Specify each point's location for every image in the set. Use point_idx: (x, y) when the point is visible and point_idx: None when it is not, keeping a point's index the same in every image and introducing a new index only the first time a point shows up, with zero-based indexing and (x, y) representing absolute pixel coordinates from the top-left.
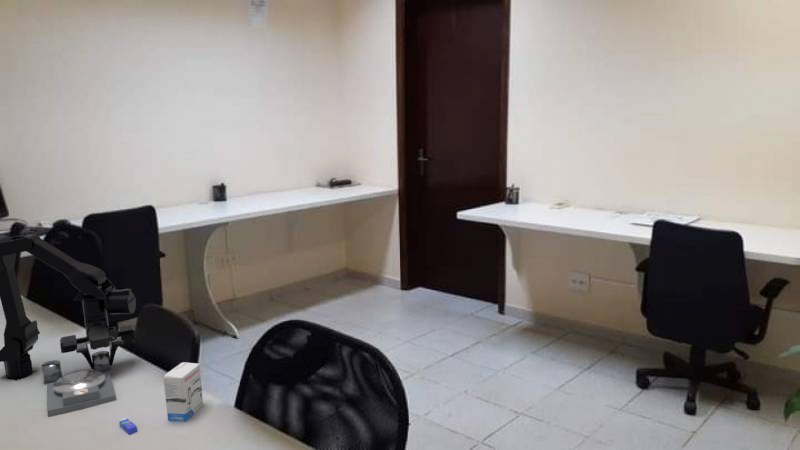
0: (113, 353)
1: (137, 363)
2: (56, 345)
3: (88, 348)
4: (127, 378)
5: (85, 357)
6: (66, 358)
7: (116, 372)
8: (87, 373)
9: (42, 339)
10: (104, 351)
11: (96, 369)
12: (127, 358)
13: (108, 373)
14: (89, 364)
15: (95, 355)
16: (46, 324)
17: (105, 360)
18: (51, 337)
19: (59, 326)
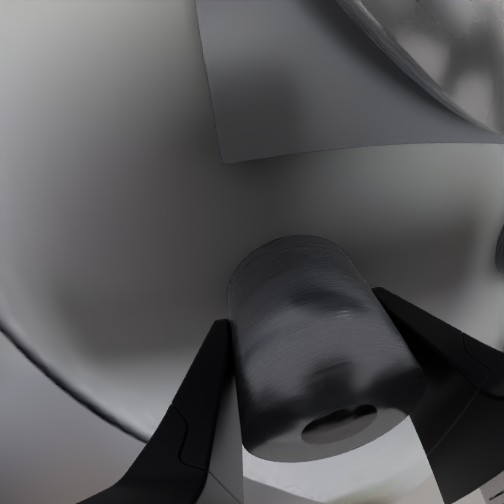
0: (181, 421)
1: (57, 330)
2: (396, 464)
3: (438, 463)
4: (52, 48)
5: (494, 349)
6: (409, 422)
7: (168, 220)
8: (476, 29)
9: (406, 472)
10: (292, 456)
11: (352, 266)
12: (150, 405)
13: (226, 82)
14: (421, 309)
15: (395, 399)
16: (376, 497)
17: (279, 335)
18: (389, 479)
19: (360, 499)
